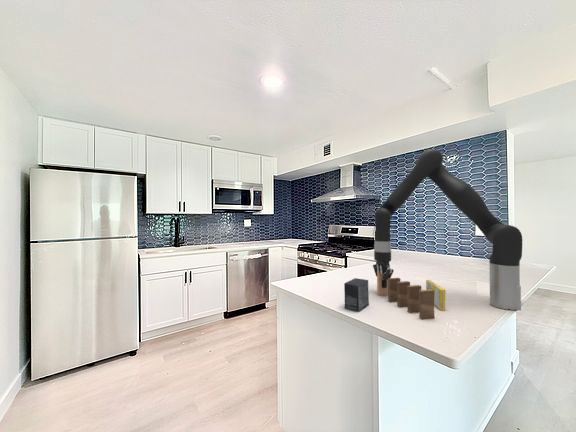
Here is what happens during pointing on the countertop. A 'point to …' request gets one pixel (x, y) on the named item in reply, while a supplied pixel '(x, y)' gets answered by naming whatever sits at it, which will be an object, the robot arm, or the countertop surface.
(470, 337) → the countertop surface
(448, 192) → the robot arm
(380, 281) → the domino
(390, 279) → the domino
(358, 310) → the small box
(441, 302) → the candy box
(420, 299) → the domino
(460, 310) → the countertop surface
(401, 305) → the domino
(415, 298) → the domino
